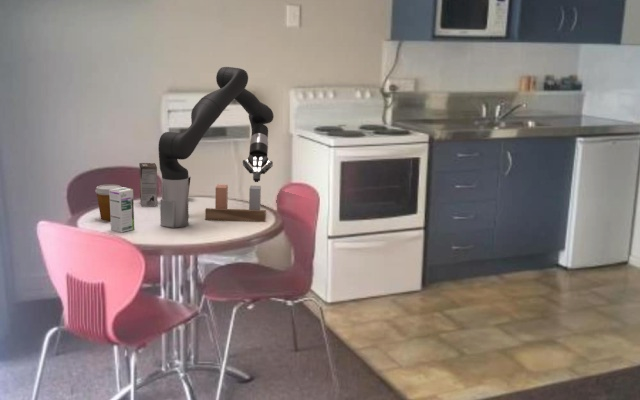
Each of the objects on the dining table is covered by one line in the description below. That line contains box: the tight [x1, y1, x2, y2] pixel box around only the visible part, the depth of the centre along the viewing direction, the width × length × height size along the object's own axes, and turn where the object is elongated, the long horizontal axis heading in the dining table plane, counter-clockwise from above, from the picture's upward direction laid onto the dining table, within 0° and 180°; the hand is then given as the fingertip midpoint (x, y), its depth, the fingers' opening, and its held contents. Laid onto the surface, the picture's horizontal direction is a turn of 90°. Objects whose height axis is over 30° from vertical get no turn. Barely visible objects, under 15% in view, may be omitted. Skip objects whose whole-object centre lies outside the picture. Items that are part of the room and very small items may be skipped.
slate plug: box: [248, 185, 262, 210], centre depth 262 cm, size 6×4×10 cm, turn 2°
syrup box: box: [109, 186, 135, 234], centre depth 231 cm, size 6×6×14 cm
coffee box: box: [139, 162, 158, 208], centre depth 269 cm, size 9×6×16 cm
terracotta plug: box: [214, 183, 229, 209], centre depth 262 cm, size 6×4×10 cm, turn 2°
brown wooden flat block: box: [204, 207, 267, 223], centre depth 256 cm, size 12×22×4 cm, turn 92°
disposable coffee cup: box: [94, 184, 122, 222], centre depth 245 cm, size 10×10×12 cm
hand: (256, 181), depth 272 cm, fingers closed
